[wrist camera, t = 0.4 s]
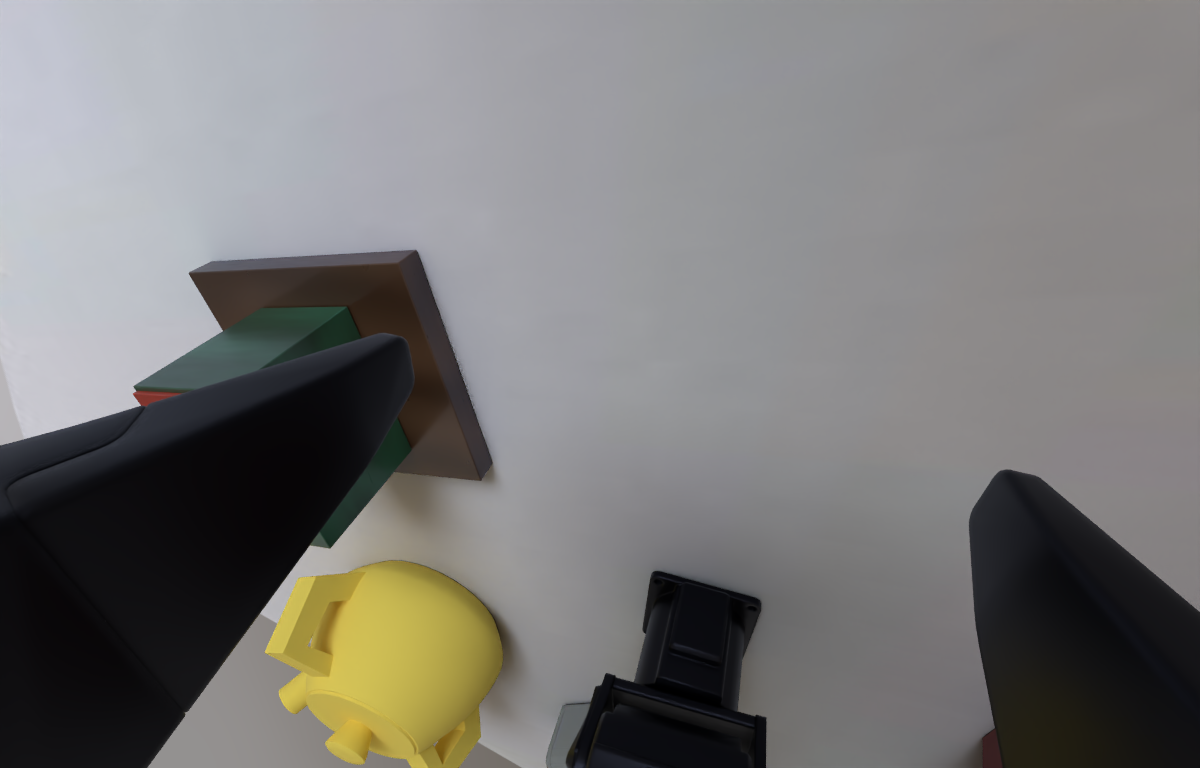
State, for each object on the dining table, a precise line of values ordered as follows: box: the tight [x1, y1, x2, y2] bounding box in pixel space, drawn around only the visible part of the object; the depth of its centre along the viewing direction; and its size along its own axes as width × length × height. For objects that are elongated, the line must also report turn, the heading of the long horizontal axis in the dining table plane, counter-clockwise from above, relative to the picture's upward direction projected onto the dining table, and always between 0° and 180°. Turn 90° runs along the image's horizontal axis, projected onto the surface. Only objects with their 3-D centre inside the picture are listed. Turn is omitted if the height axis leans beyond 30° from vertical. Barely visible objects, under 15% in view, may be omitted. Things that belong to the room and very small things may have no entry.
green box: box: [133, 307, 412, 548], centre depth 27 cm, size 9×6×7 cm, turn 10°
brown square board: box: [189, 250, 492, 481], centre depth 31 cm, size 13×13×2 cm
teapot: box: [265, 561, 503, 768], centre depth 42 cm, size 20×18×11 cm
